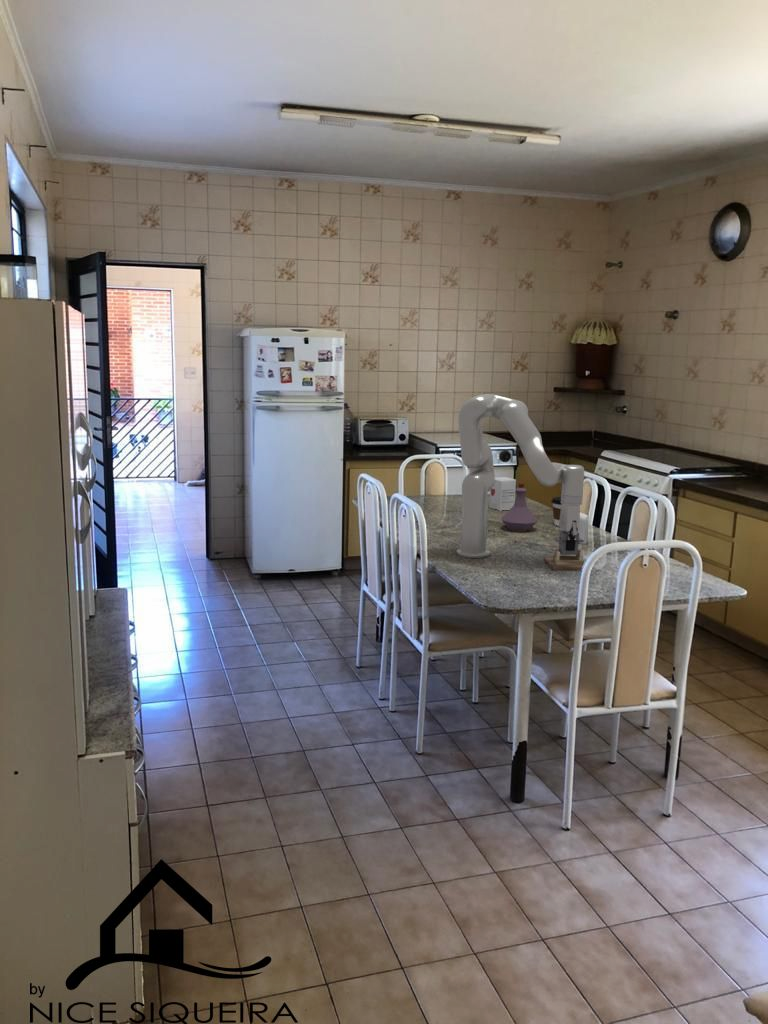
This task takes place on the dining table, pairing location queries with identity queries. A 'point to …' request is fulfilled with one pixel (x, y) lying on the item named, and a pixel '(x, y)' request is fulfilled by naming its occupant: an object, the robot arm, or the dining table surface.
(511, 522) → the flask
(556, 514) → the coffee cup
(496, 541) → the dining table surface
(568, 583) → the dining table surface
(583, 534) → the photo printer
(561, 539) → the servo block
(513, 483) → the supplement box
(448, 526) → the dining table surface
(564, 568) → the dock
